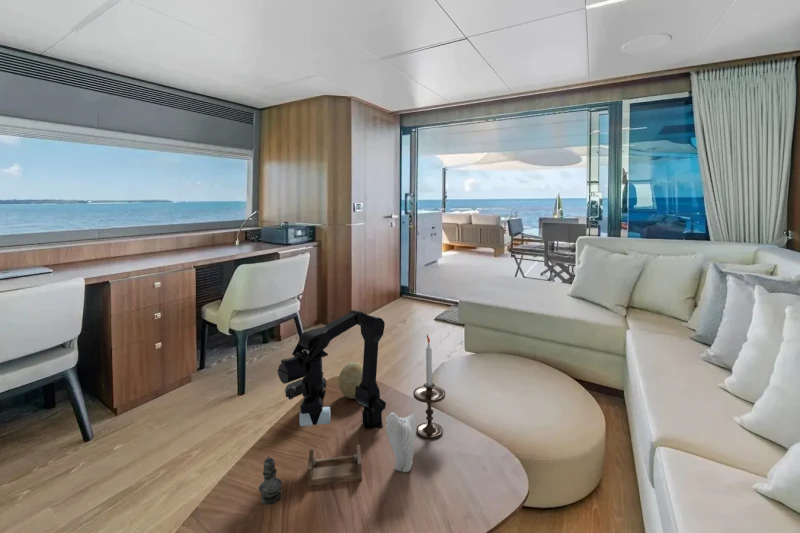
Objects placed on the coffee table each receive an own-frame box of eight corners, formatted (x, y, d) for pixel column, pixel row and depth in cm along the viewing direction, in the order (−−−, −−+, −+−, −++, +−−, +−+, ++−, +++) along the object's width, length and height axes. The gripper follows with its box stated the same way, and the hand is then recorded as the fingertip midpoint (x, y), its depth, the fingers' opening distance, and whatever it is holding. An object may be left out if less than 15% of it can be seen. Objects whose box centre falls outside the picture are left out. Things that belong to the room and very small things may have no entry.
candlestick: (408, 429, 136) (406, 332, 131) (433, 420, 141) (432, 327, 136) (425, 444, 126) (423, 341, 121) (451, 434, 131) (451, 335, 127)
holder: (360, 460, 119) (359, 444, 118) (361, 480, 110) (361, 463, 109) (310, 465, 117) (309, 450, 116) (308, 486, 108) (307, 469, 107)
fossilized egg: (372, 390, 166) (370, 357, 164) (366, 404, 153) (365, 368, 151) (343, 389, 167) (341, 356, 165) (335, 404, 155) (334, 368, 153)
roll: (330, 418, 124) (329, 403, 123) (329, 426, 119) (328, 411, 118) (302, 420, 123) (301, 406, 122) (299, 429, 118) (299, 414, 117)
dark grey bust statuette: (261, 508, 100) (258, 466, 98) (258, 494, 105) (255, 453, 104) (284, 500, 103) (282, 458, 101) (280, 486, 108) (277, 447, 106)
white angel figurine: (420, 461, 118) (419, 406, 115) (412, 479, 110) (411, 420, 107) (394, 456, 120) (393, 402, 118) (385, 473, 113) (383, 415, 110)
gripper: (291, 362, 127) (293, 407, 129) (280, 387, 109) (284, 439, 111) (325, 360, 128) (327, 404, 130) (320, 385, 110) (323, 435, 112)
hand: (315, 420), depth 121 cm, fingers closed on roll, 5 cm apart
